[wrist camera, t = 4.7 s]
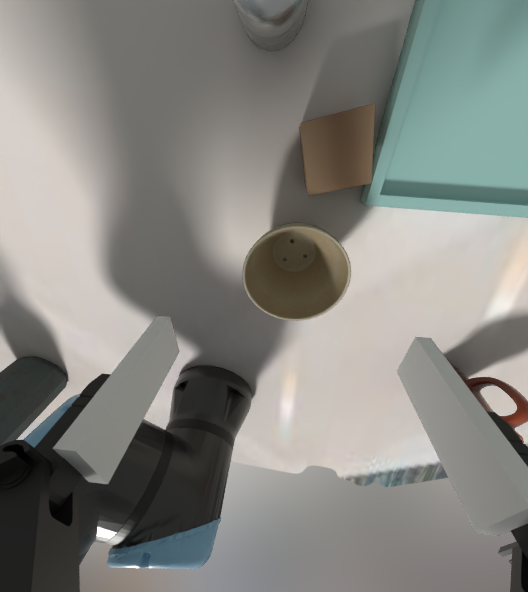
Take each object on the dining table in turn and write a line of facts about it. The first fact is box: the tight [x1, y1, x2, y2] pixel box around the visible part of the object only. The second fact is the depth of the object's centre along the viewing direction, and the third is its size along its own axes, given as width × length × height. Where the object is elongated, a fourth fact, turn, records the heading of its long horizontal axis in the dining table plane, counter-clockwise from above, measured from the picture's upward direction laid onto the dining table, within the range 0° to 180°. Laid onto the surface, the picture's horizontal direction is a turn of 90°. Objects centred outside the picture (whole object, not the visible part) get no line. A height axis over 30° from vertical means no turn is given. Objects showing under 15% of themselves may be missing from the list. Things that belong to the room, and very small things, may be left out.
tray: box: [360, 0, 528, 218], centre depth 17 cm, size 17×17×2 cm
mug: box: [453, 367, 528, 443], centre depth 31 cm, size 12×9×10 cm
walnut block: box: [300, 103, 375, 196], centre depth 19 cm, size 5×5×5 cm
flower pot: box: [243, 223, 351, 321], centre depth 24 cm, size 10×10×7 cm
